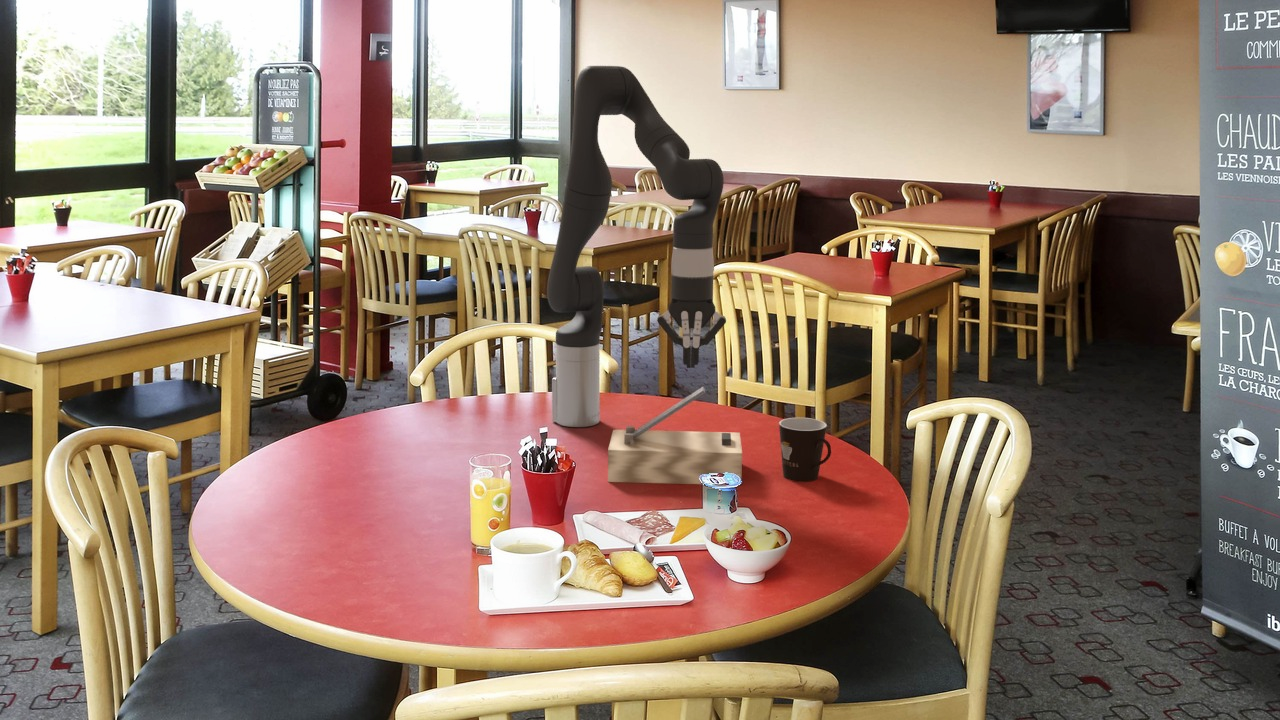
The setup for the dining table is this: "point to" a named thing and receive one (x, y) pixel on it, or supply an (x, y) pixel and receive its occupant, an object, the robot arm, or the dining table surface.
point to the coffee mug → (802, 448)
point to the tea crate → (672, 456)
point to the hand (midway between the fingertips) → (690, 367)
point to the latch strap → (669, 412)
